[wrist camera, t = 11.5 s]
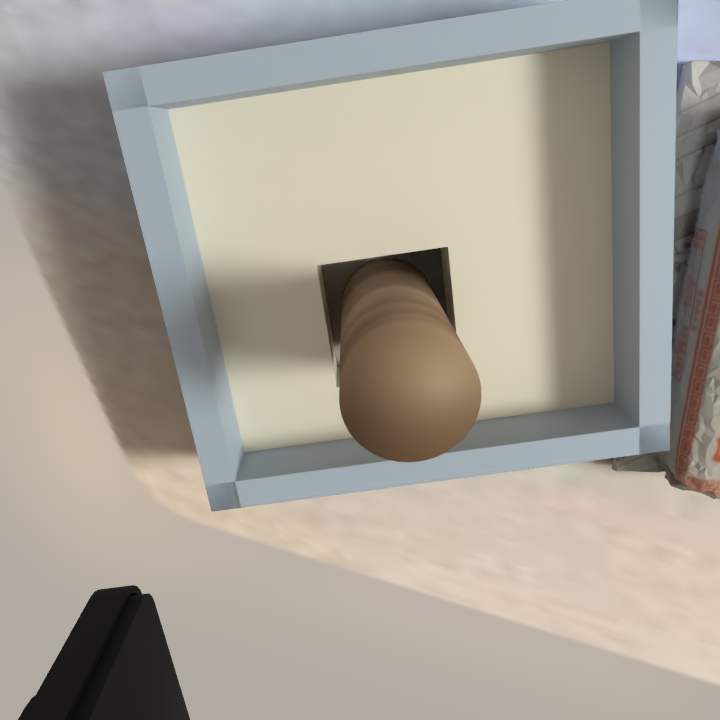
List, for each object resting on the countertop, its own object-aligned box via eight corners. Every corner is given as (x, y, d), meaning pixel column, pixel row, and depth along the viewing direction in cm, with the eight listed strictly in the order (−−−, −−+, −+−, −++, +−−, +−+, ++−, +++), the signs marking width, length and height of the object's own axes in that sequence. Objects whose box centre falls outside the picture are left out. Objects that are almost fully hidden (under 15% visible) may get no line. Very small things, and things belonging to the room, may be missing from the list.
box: (147, 84, 25) (102, 72, 21) (615, 12, 25) (678, -17, 20) (232, 454, 31) (211, 511, 26) (619, 401, 30) (669, 450, 25)
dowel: (335, 265, 28) (329, 341, 17) (427, 252, 28) (475, 320, 17) (348, 352, 29) (350, 470, 19) (436, 340, 29) (486, 452, 19)
